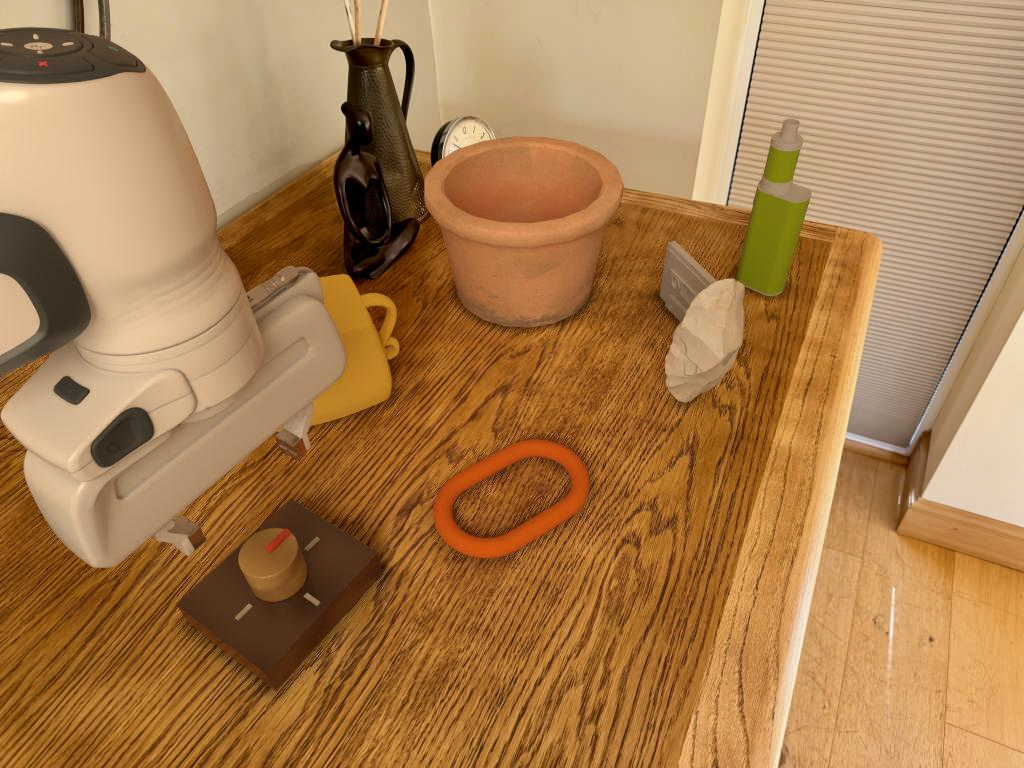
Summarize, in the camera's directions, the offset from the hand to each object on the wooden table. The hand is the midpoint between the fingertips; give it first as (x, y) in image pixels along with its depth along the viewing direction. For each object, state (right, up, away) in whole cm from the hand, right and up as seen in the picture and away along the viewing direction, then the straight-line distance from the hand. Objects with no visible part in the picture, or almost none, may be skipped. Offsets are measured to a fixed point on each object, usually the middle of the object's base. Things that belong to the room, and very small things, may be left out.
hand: (246, 495), depth 50 cm
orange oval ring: (+18, -3, +16) cm, 24 cm away
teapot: (-3, +7, +27) cm, 28 cm away
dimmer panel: (0, -10, +9) cm, 13 cm away
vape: (+49, +20, +39) cm, 66 cm away
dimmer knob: (0, -8, +7) cm, 10 cm away
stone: (+37, +6, +25) cm, 45 cm away
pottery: (+20, +20, +39) cm, 48 cm away
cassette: (+39, +14, +34) cm, 53 cm away
